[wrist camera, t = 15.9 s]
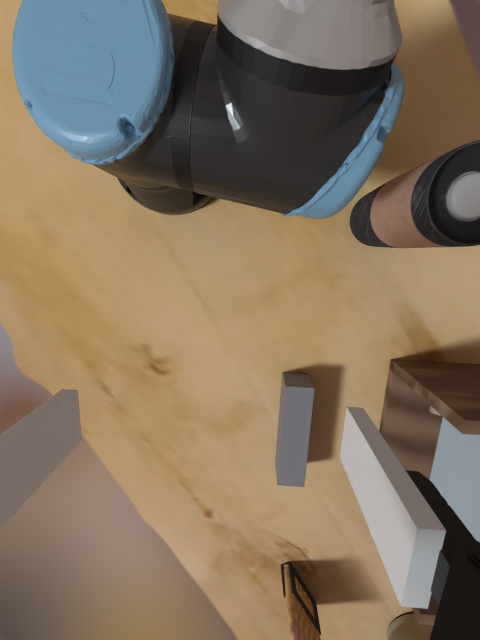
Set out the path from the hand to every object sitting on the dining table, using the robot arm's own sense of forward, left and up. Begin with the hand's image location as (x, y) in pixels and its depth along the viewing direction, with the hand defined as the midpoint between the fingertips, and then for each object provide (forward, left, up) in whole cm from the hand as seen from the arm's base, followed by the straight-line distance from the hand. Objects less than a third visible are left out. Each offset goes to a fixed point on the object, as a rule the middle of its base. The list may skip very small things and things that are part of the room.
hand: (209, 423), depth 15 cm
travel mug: (-13, +18, -32) cm, 39 cm away
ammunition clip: (+51, +13, -32) cm, 62 cm away
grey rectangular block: (+18, +9, -32) cm, 38 cm away
